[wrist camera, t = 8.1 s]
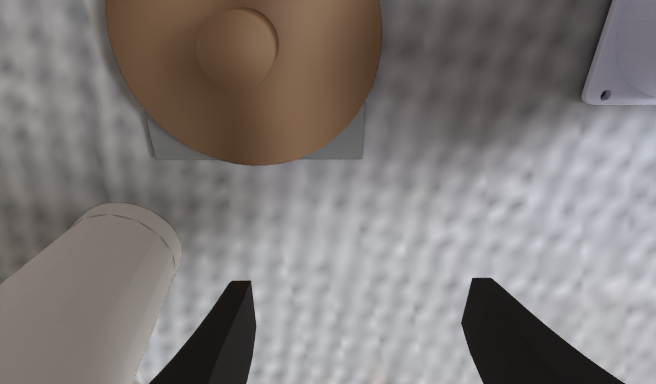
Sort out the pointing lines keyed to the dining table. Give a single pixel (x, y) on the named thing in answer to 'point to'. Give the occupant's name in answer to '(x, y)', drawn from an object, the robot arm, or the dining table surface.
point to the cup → (88, 300)
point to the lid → (248, 70)
